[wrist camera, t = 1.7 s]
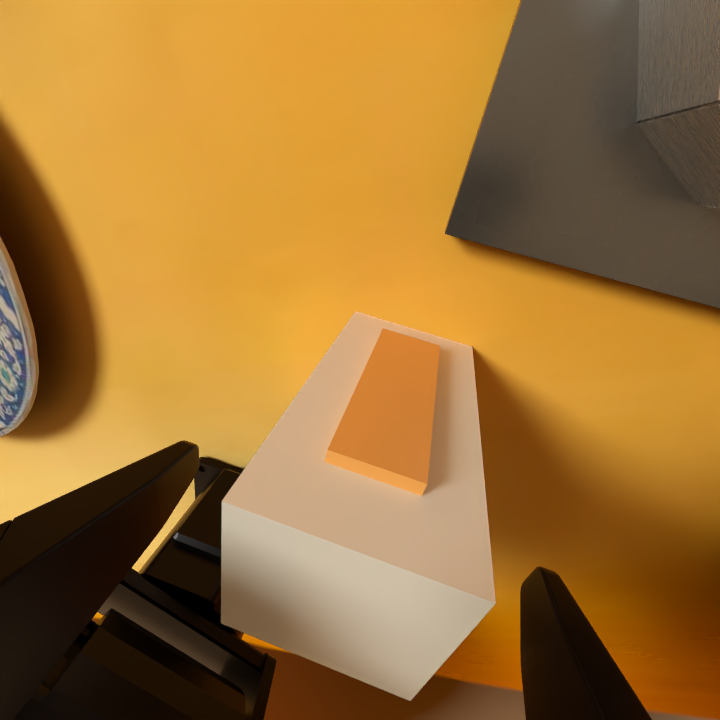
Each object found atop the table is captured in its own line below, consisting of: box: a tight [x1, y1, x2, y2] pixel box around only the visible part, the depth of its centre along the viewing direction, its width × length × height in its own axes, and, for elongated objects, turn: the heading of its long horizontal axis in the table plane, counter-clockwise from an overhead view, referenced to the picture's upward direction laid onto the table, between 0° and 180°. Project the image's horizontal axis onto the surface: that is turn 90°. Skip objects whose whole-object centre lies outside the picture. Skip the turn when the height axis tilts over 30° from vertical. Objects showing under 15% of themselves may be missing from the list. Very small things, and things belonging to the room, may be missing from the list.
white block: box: [221, 311, 496, 701], centre depth 10 cm, size 5×5×9 cm
